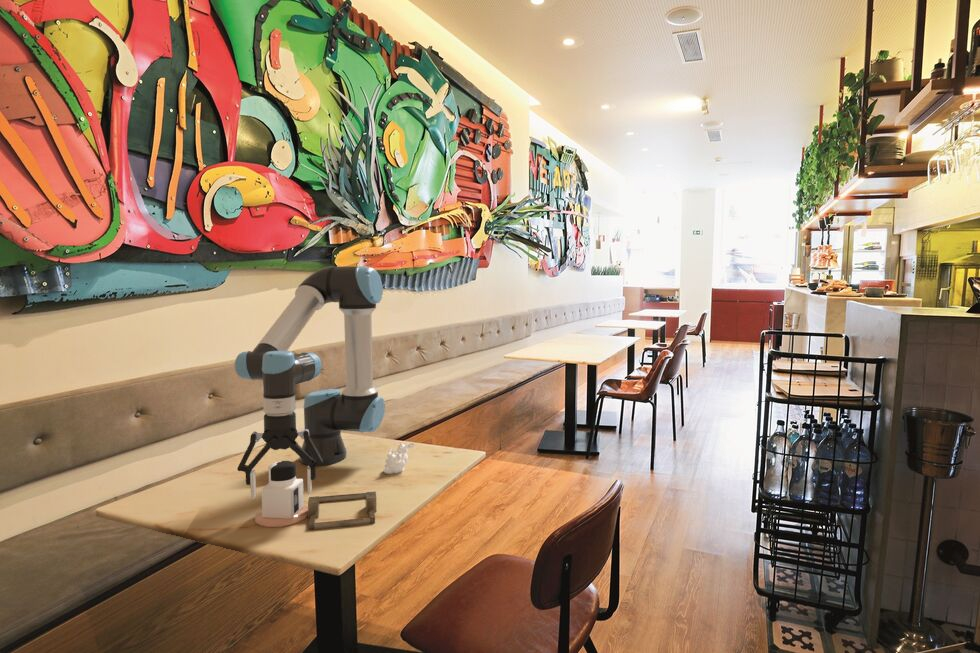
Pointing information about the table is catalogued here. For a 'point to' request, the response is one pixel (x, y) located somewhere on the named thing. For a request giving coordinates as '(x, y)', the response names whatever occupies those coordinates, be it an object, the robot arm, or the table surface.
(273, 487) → the container
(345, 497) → the collar
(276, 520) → the pink flat disc
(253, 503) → the table surface
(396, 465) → the rabbit figurine
